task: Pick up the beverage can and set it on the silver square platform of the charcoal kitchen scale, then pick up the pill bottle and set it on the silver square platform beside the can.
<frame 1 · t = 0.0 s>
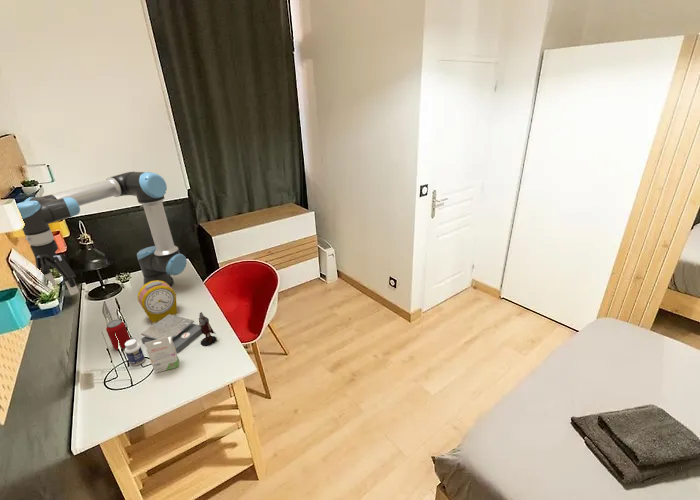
hand: (64, 290, 142), 28 cm above the table, fingers open, 13 cm apart
alarm clock: (163, 315, 173), on the table
beverage can: (123, 346, 153), on the table
figurine: (209, 341, 153), on the table
ink box: (167, 366, 140), on the table
silver square platform: (168, 328, 156), point 4 cm above the table, slide at -0.3 cm
pill bottle: (137, 361, 144), on the table
scale: (174, 336, 157), on the table
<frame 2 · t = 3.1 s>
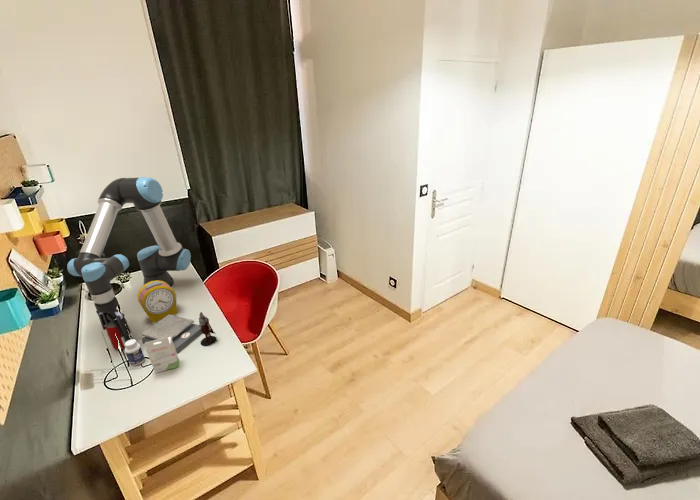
hand: (122, 344, 153), 1 cm above the table, fingers closed on beverage can, 7 cm apart
beverage can: (123, 346, 153), on the table, touching gripper
everything else where it was.
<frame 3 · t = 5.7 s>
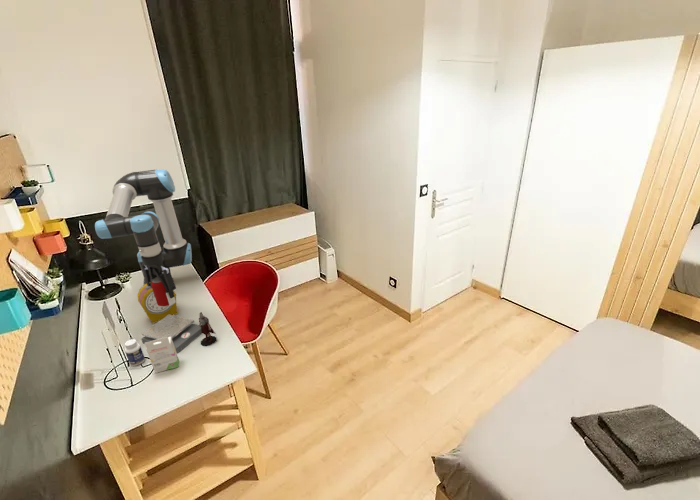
hand: (166, 302, 151), 17 cm above the table, fingers closed on beverage can, 7 cm apart
beverage can: (166, 303, 152), point 16 cm above the table, touching gripper
everything else where it was.
when the fingers open (7 cm above the table, at t = 8.2 s): beverage can drops 2 cm, resting on silver square platform.
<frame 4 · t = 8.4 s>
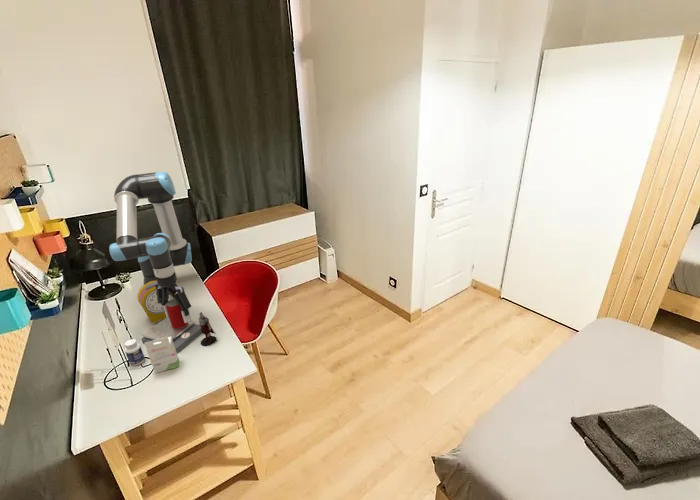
hand: (178, 319, 156), 8 cm above the table, fingers open, 9 cm apart
beverage can: (180, 325, 158), point 4 cm above the table, touching silver square platform
silver square platform: (169, 329, 156), point 3 cm above the table, slide at -1.0 cm, touching beverage can, scale
everything else where it was.
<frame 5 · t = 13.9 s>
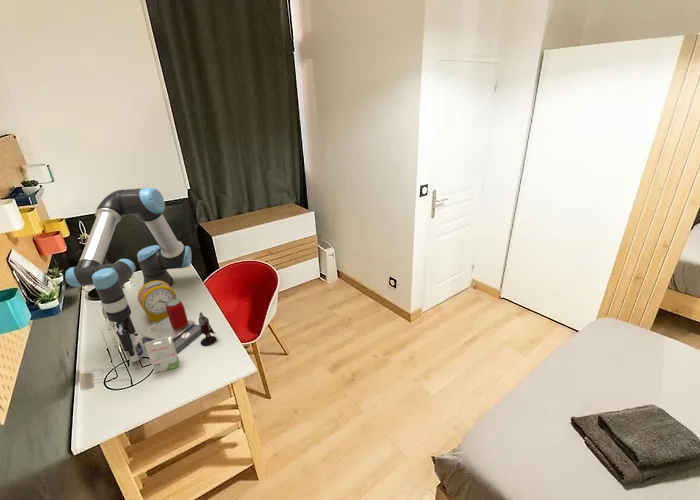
hand: (136, 355, 143), 3 cm above the table, fingers closed on pill bottle, 5 cm apart
pill bottle: (136, 356, 143), point 2 cm above the table, touching gripper
everything else where it was.
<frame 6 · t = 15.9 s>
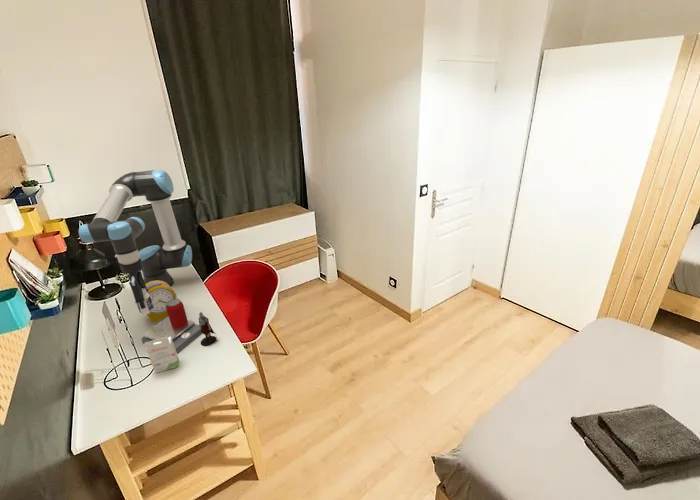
hand: (146, 310, 149), 16 cm above the table, fingers closed on pill bottle, 5 cm apart
pill bottle: (147, 311, 149), point 15 cm above the table, touching gripper
everything else where it was.
when the fingers open (6 cm above the table, at t = 17.8 s): pill bottle drops 1 cm, resting on silver square platform.
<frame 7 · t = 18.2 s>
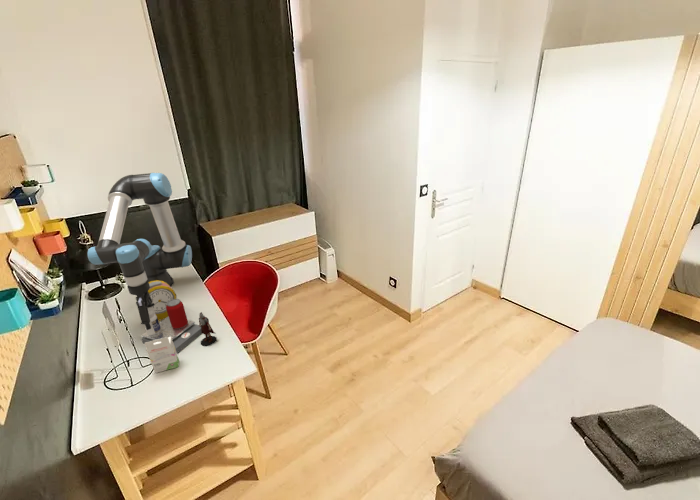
hand: (152, 326, 153), 7 cm above the table, fingers open, 10 cm apart
silver square platform: (169, 329, 156), point 3 cm above the table, slide at -1.0 cm, touching beverage can, pill bottle, scale
pill bottle: (154, 331, 154), point 4 cm above the table, touching silver square platform
everything else where it was.
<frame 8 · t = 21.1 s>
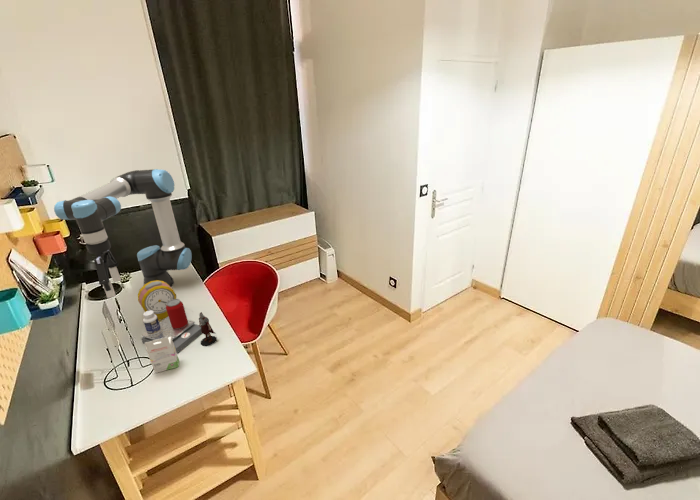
hand: (114, 288, 144), 27 cm above the table, fingers open, 13 cm apart
nothing on the table moved.
at the end: beverage can inside the target area on the scale (4.9 cm from its centre), point 4.1 cm above the scale's base; pill bottle inside the target area on the scale (5.6 cm from its centre), point 4.1 cm above the scale's base; pill bottle tilted 0° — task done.
